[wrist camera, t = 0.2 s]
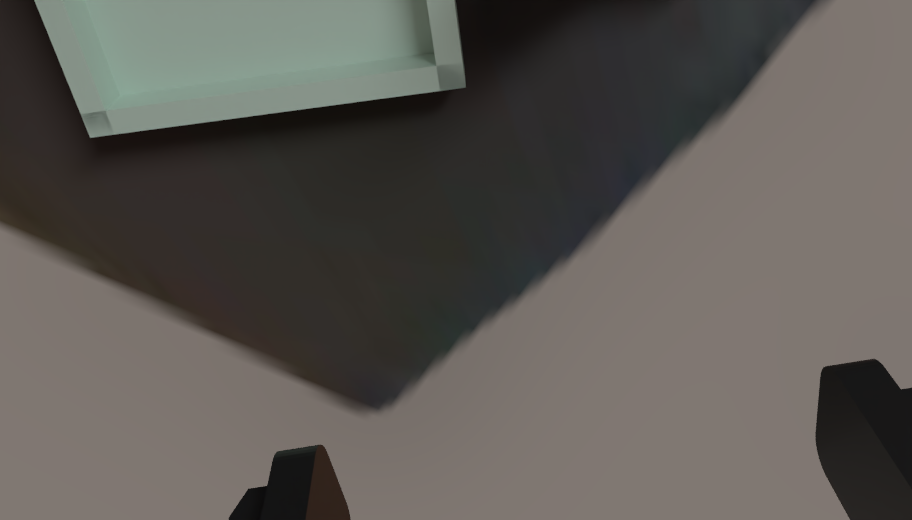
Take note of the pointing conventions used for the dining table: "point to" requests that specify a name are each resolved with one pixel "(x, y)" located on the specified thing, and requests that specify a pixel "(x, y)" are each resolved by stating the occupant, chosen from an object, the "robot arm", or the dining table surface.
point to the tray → (246, 56)
